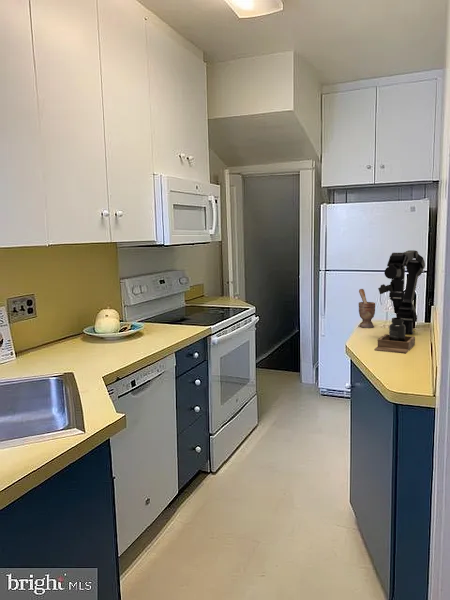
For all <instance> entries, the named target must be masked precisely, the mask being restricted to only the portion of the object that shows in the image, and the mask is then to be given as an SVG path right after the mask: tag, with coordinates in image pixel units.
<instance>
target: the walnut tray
mask: <svg viewBox="0 0 450 600" xmlns="http://www.w3.org/2000/svg"><path fill="white" fill-rule="evenodd" d="M415 341H416V337H415V336H412V335H411V336H410V335H405V342H401V341H390V340H389V333H388V334H387V333H385V334H383V335H382V336H381V337H379V338H378V339H377V346H376V347H375V348H374V351H376V352H379V351H380V352H387V353H389V352H390V353H397V354H407V353H408V352H409V351H410V350H411V349H412V348H413V347H414V346H415V344H416V342H415Z"/></svg>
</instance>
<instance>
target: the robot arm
mask: <svg viewBox="0 0 450 600" xmlns="http://www.w3.org/2000/svg"><path fill="white" fill-rule="evenodd" d="M425 268H426V263H425V259H424V257H423V256H421V255H420V254H419V252H418V250H414V249H413V250H406V251H403V252H392V253H391V254H390V255H389V259H388V261H387V264H386V268H385V269H384V276H385V277H386V278H387V279H389V280H391V281H390V283H389V284H387V285H386V284H384V283H383V284H380V287H378V288H377V289H378V292H379V295H382V294H385V293H388V292H389V296H388V298H389V299H390V301H392V305H393V312H394V314H395V315H396V317H395V318H403V324H404V325H405V327H406V331H405V335H413V334H414V333H415V332H416V331H414V330H413V329H414V323H417V322H418V315H417V312H416V308H415V305H414V298H415V295H416V294H415V293H416V288H417V283H418V279H419V277H420V276H421V275H422V273H423V272H424V269H425ZM406 272H407V274H408V275H407V279H406V283H405V275H406V274H405V273H406ZM405 284H406V286H405ZM404 288H405V290H404Z"/></svg>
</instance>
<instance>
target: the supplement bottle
mask: <svg viewBox="0 0 450 600" xmlns="http://www.w3.org/2000/svg"><path fill="white" fill-rule="evenodd" d="M405 331H406V327H405V325H404V324H403V318H396V317H392V318H391V324H389V325H388V332H389V333H388V334H389V340H390V341H401V342H405V336H406V334H405Z"/></svg>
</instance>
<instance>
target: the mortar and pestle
mask: <svg viewBox="0 0 450 600" xmlns="http://www.w3.org/2000/svg"><path fill="white" fill-rule="evenodd" d="M358 293H359V295H360V298H361V300H362V301H361V302H358V313H359V317H360V318H361V319H362V320H361V322H360V324H359V327H360V328H365V329H371V328H374V327H375V325H374V323H373V322H372V319H374V316H375V314H376V302H373V301H367V298H366V293H365V289H364V288H360V289H359V290H358Z"/></svg>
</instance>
